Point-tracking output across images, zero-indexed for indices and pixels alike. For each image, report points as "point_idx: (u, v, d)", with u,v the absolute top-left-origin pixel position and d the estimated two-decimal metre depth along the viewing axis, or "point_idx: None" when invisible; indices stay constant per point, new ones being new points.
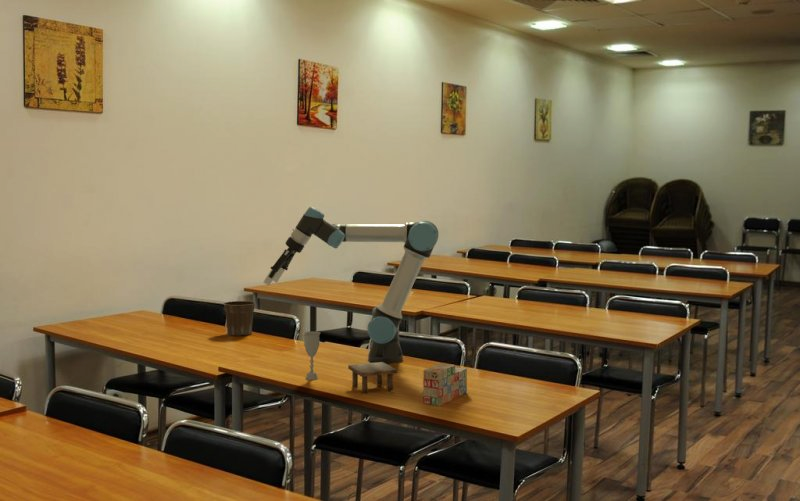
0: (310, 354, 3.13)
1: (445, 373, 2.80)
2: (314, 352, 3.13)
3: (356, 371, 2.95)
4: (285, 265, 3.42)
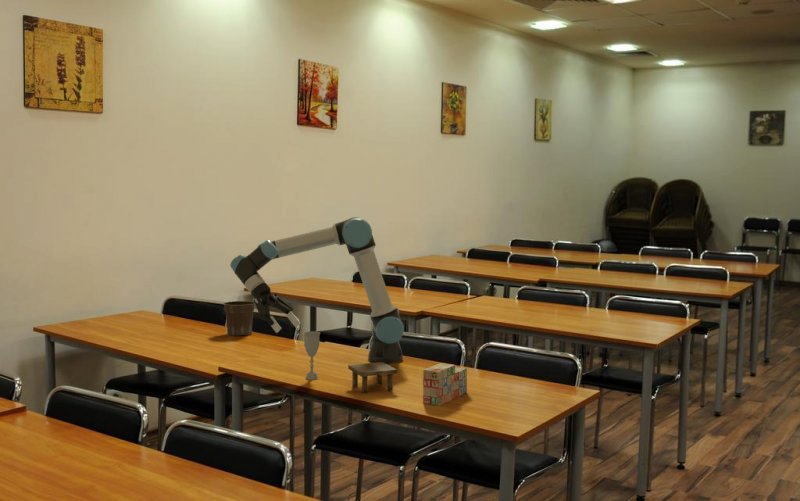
0: (310, 354, 3.13)
1: (445, 373, 2.80)
2: (314, 352, 3.13)
3: (356, 371, 2.95)
4: (285, 308, 3.26)
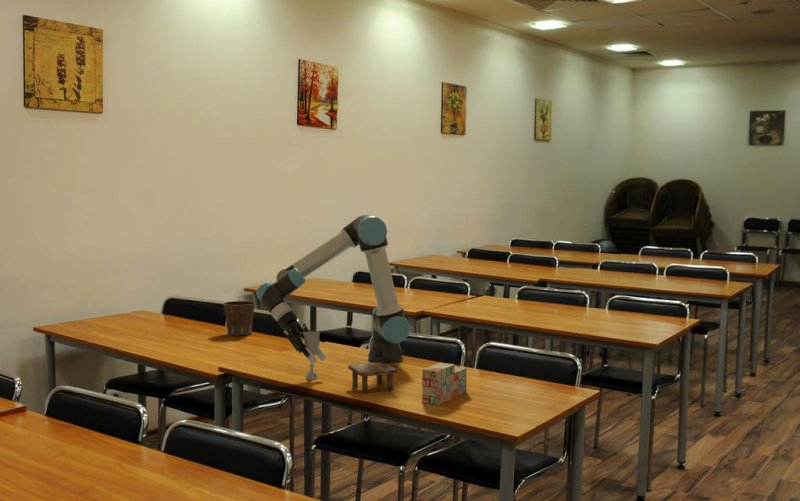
0: None
1: (444, 372, 2.81)
2: (314, 352, 3.13)
3: (356, 371, 2.95)
4: None
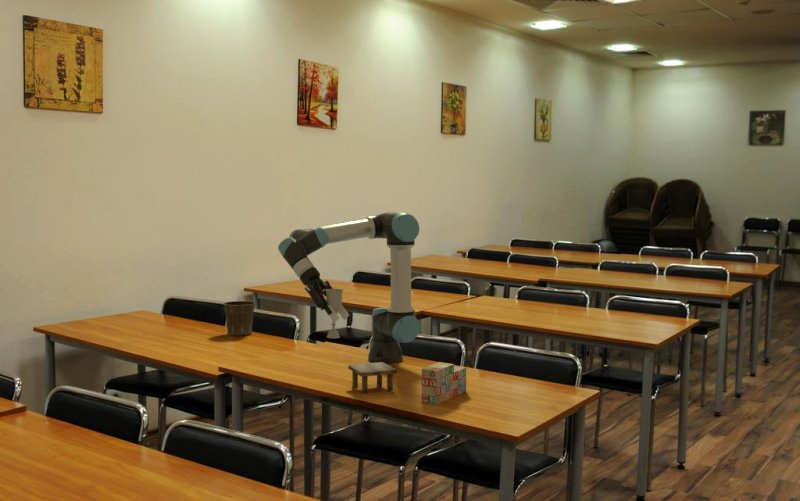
0: None
1: (443, 372, 2.82)
2: (336, 310, 3.02)
3: (356, 371, 2.95)
4: None
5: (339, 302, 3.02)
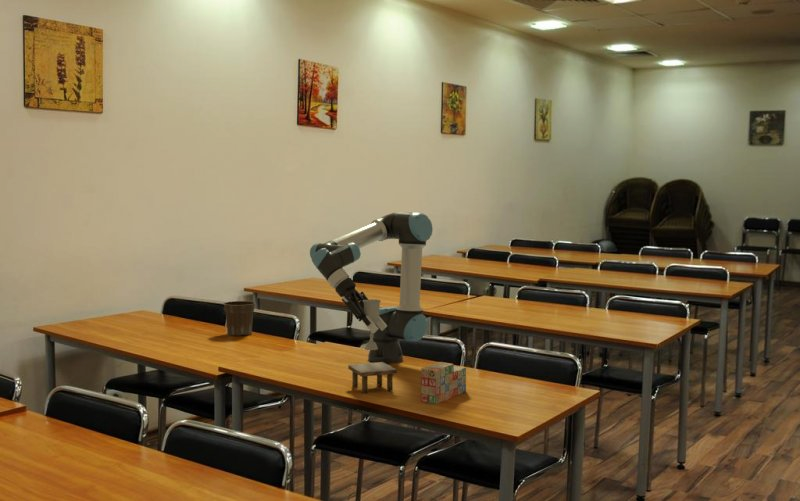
0: None
1: (443, 372, 2.82)
2: (374, 321, 2.96)
3: (356, 371, 2.95)
4: None
5: (377, 313, 2.96)
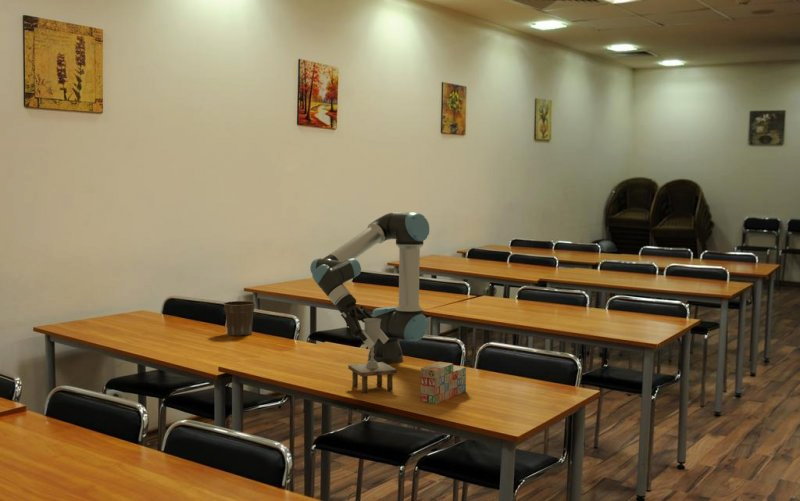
0: None
1: (443, 372, 2.83)
2: (375, 339, 2.97)
3: (356, 371, 2.95)
4: None
5: (378, 331, 2.97)
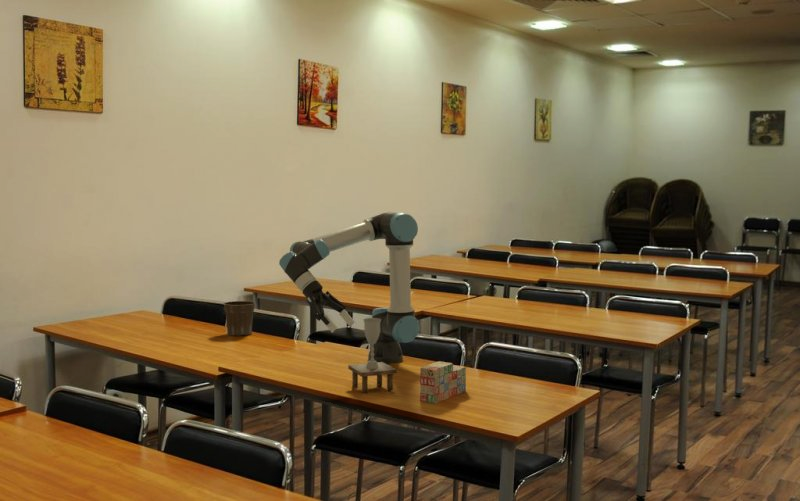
0: (371, 342, 2.97)
1: (442, 371, 2.83)
2: (375, 340, 2.97)
3: (356, 371, 2.95)
4: (338, 307, 3.12)
5: (378, 332, 2.97)
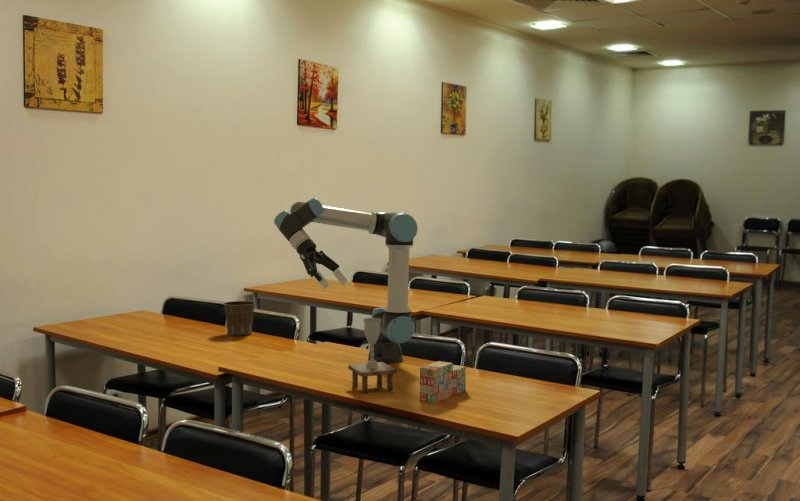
0: (371, 342, 2.97)
1: (442, 371, 2.84)
2: (375, 340, 2.97)
3: (356, 371, 2.95)
4: (331, 265, 3.16)
5: (378, 332, 2.97)
